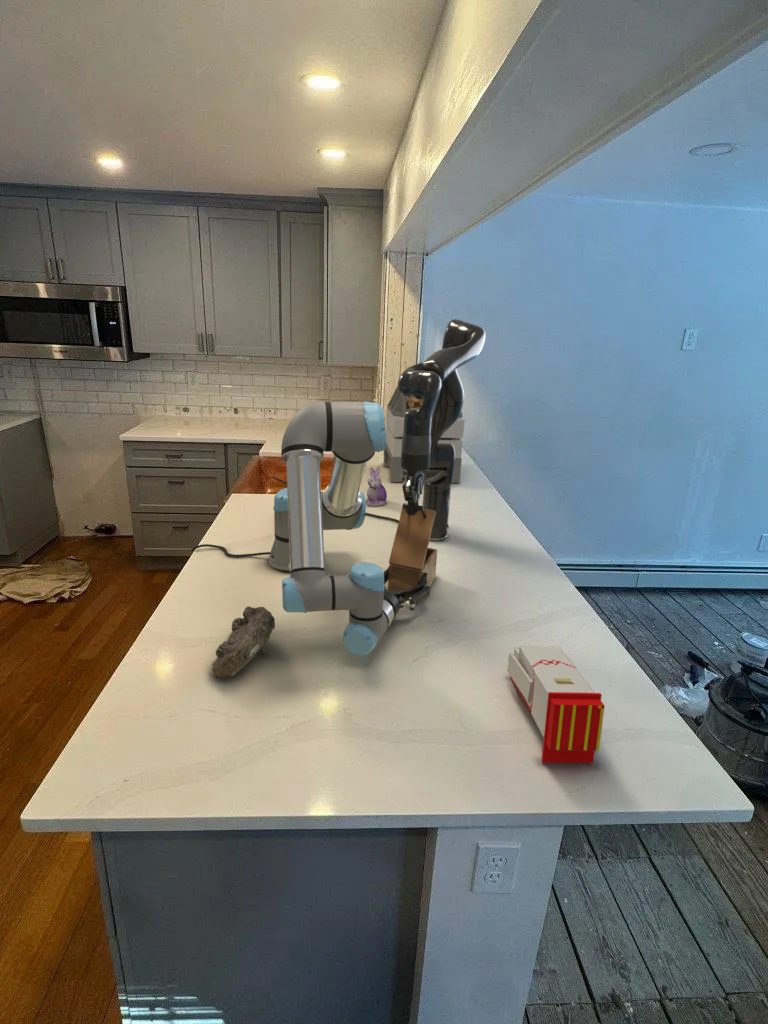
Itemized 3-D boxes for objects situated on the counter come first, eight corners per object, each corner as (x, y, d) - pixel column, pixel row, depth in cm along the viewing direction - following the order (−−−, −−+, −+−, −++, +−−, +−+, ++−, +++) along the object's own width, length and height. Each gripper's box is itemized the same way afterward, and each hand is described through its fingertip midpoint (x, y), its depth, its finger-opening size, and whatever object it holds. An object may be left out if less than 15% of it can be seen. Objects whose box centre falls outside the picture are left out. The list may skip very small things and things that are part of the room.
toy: (556, 628, 125) (614, 701, 96) (551, 684, 128) (605, 771, 99) (502, 627, 125) (543, 700, 95) (497, 683, 128) (536, 770, 98)
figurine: (371, 508, 224) (372, 471, 219) (360, 500, 232) (361, 464, 227) (392, 505, 228) (394, 469, 223) (380, 497, 236) (382, 462, 231)
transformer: (382, 463, 289) (386, 382, 275) (445, 464, 293) (451, 384, 279) (390, 482, 257) (394, 392, 243) (460, 483, 261) (468, 394, 247)
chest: (405, 571, 172) (406, 543, 169) (435, 577, 169) (437, 549, 166) (387, 594, 157) (388, 565, 154) (420, 601, 154) (422, 571, 151)
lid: (403, 506, 159) (397, 496, 152) (436, 511, 156) (431, 501, 149) (389, 563, 154) (382, 555, 147) (422, 570, 152) (417, 562, 144)
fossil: (228, 609, 137) (273, 580, 132) (255, 636, 140) (300, 609, 135) (192, 672, 118) (244, 640, 113) (224, 701, 121) (275, 672, 116)
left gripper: (338, 615, 141) (370, 578, 161) (423, 634, 134) (445, 593, 154) (338, 588, 139) (371, 554, 158) (425, 606, 132) (448, 568, 152)
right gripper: (422, 458, 138) (418, 524, 144) (437, 445, 150) (432, 507, 156) (393, 454, 140) (390, 519, 146) (409, 442, 152) (406, 503, 158)
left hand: (408, 573), depth 156 cm, fingers closed on chest, 9 cm apart
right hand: (412, 513), depth 151 cm, fingers closed
